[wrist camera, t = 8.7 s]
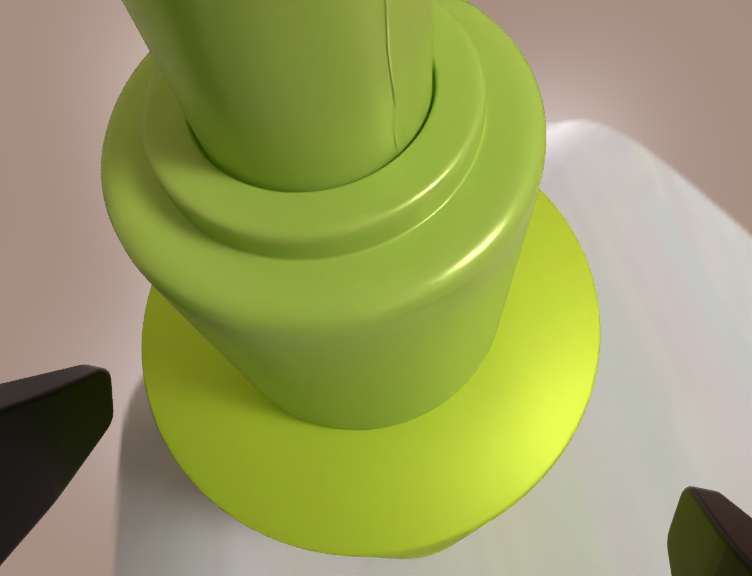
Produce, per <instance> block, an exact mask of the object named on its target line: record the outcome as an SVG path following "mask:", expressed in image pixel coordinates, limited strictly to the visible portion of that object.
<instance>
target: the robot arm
mask: <svg viewBox="0 0 752 576" xmlns="http://www.w3.org/2000/svg"><path fill="white" fill-rule="evenodd" d="M112 418H113V399H112V385H111V376H110V374H109V372H108V371H107V370H106V369H104V368H100V367H95V366H90V365H79V366H74V367H70V368H66V369H62V370H57V371H53V372H49V373H45V374H40V375H36V376H32V377H28V378H23V379H19V380H15V381H11V382H7V383H2V384H0V565H1V564H2V563H3V562H4V561H5V560H6V559H7V557H8V556H9V555H10V554H11V553H12V552H13V550H14V549H15V548H16V547H17V546H18V545H19V543H20V542H21V541H22V540H23V539H24V538H25V536H26V535H27V534H28V533H29V532H30V531H31V530H32V528H33V527H34V526H35V525H36V524H37V523H38V522H39V520H40V519H41V518H42V517H43V516H44V515H45V513H46V512H47V511H48V510H49V508H50V507H51V506H52V505H53V504H54V502H55V501H56V500H57V499H58V497H59V496H60V495H61V493H62V492H63V491H64V489H65V488H66V487H67V485H68V484H69V482H70V481H71V480H72V478H73V477H74V475H75V474H76V473H77V471H78V470H79V468H80V467H81V466H82V464H83V463H84V461H85V460H86V459H87V457H88V456H89V454H90V453H91V452H92V450H93V449H94V447H95V446H96V444H97V443H98V442H99V440H100V439H101V438H102V436H103V435H104V433H105V432H106V430H107V429H108V427H109V426H110V424H111V421H112ZM667 548H668V555H669V562H670V568H671V575H672V576H752V518H751V517H750V516H749V515H747V514H746V513H745V512H744V511H742V510H741V509H740V508H739V507H737V506H736V505H735V504H733V503H732V502H731V501H730V500H728V499H727V498H726V497H725V496H723V495H722V494H721V493H719V492H717V491H713V490H708V489H703V488H698V487H693V486H689V487H687V488H685V489H684V491H683V492H682V494H681V496H680V499H679V502H678V505H677V508H676V511H675V514H674V517H673V520H672V523H671V526H670V529H669V533H668V540H667Z"/></svg>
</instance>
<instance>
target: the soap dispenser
mask: <svg viewBox="0 0 752 576" xmlns="http://www.w3.org/2000/svg"><path fill="white" fill-rule="evenodd" d="M122 1H123V3H124V5H125V6H126V9H127V11H128V12H129V14H130V16H131V18H132V20H133V21H134V23H135V25H136V27H137V29H138V31H139V32H140V34H141V36H142V38H143V40H144V41H145V43H146V45H147V47H148V49H149V51H150V52H149V53H148V54H147V56H146V57H145V58H144V59H143V60H142V61H141V63H140V64H139V65H138V67H137V68H136V69H135V71H134V72H133V74H132V75H131V77H130V78H129V80H128V81H127V83H126V85H125V86H124V88H123V90H122V92H121V94H120V96H119V98H118V100H117V102H116V104H115V107H114V109H113V112H112V115H111V117H110V120H109V123H108V127H107V130H106V134H105V138H104V143H103V150H102V159H101V180H102V190H103V196H104V201H105V205H106V209H107V212H108V215H109V218H110V221H111V223H112V225H113V228H114V230H115V232H116V234H117V236H118V238H119V240H120V242H121V244H122V245H123V247H124V249H125V251H126V252H127V254H128V256H129V257H130V259H131V260H132V261H133V263H134V264H135V266H136V267H137V268H138V269H139V271H140V272H141V273H142V274H143V275H144V276H145V277H146V279H147V280H148V281H149V282H150V283H151V284H152V286H151V290H150V293H149V296H148V301H147V305H146V310H145V316H144V322H143V332H142V366H143V375H144V382H145V388H146V392H147V396H148V400H149V404H150V407H151V410H152V413H153V416H154V419H155V422H156V424H157V426H158V429H159V431H160V433H161V435H162V437H163V439H164V441H165V443H166V445H167V447H168V449H169V450H170V452H171V454H172V455H173V457H174V458H175V460H176V461H177V463H178V464H179V466H180V467H181V468H182V470H183V471H184V472H185V474H186V475H187V476H188V477H189V479H190V480H191V481H192V482H193V483H194V484H195V485H196V486H197V487H198V488H199V489H200V490H201V491H202V492H203V493H204V494H205V495H206V496H207V497H208V498H209V499H210V500H211V501H212V502H213V503H215V504H216V505H217V506H218V507H220V508H221V509H222V510H223V511H225V512H226V513H228V514H229V515H230V516H232V517H233V518H235V519H236V520H238V521H239V522H241V523H243V524H244V525H246V526H248V527H250V528H251V529H253V530H255V531H257V532H259V533H261V534H263V535H265V536H268V537H270V538H272V539H275V540H277V541H280V542H283V543H286V544H288V545H292V546H295V547H298V548H302V549H306V550H310V551H314V552H320V553H326V554H333V555H341V556H357V557H377V558H398V559H412V558H420V557H425V556H429V555H432V554H435V553H438V552H440V551H442V550H444V549H446V548H448V547H450V546H452V545H453V544H455V543H456V542H458V541H459V540H461V539H463V538H464V537H466V536H467V535H469V534H471V533H472V532H474V531H475V530H477V529H478V528H480V527H482V526H483V525H485V524H486V523H488V522H490V521H491V520H493V519H494V518H496V517H497V516H499V515H500V514H502V513H503V512H505V511H506V510H507V509H509V508H510V507H511V506H513V505H514V504H515V503H516V502H518V501H519V500H520V499H521V498H523V497H524V496H525V495H526V494H527V493H528V492H529V491H530V490H531V489H532V488H533V487H534V486H535V485H536V484H537V483H538V482H539V481H540V480H541V479H542V478H543V477H544V476H545V475H546V474H547V472H548V471H549V470H550V469H551V468H552V466H553V465H554V464H555V463H556V461H557V460H558V459H559V457H560V456H561V454H562V453H563V451H564V450H565V448H566V447H567V445H568V444H569V442H570V440H571V439H572V437H573V435H574V433H575V431H576V429H577V428H578V426H579V423H580V421H581V419H582V417H583V415H584V412H585V410H586V407H587V405H588V402H589V399H590V396H591V393H592V389H593V386H594V382H595V377H596V373H597V367H598V361H599V352H600V314H599V305H598V299H597V293H596V289H595V284H594V281H593V277H592V274H591V271H590V268H589V265H588V262H587V260H586V257H585V255H584V252H583V250H582V248H581V246H580V244H579V242H578V240H577V238H576V236H575V234H574V233H573V231H572V229H571V228H570V226H569V225H568V223H567V221H566V220H565V218H564V217H563V216H562V214H561V213H560V212H559V210H558V209H557V208H556V207H555V205H554V204H553V203H552V202H551V201H550V199H549V198H548V197H547V196H546V195H545V194H544V193H543V192H542V191H541V190H540V189H539V187H540V182H541V178H542V174H543V169H544V163H545V155H546V120H545V111H544V106H543V101H542V97H541V93H540V90H539V87H538V84H537V81H536V79H535V76H534V74H533V72H532V70H531V68H530V66H529V64H528V62H527V60H526V59H525V57H524V56H523V54H522V53H521V51H520V50H519V48H518V47H517V45H516V44H515V43H514V42H513V41H512V39H511V38H510V37H509V36H508V35H507V34H506V32H504V31H503V29H501V27H499V26H498V24H496V23H495V22H494V21H493V20H492V19H491V18H490V17H489V16H487V15H486V14H485V13H484V12H482V11H481V10H480V9H478V8H477V7H475V6H474V5H473V4H471V3H470V2H468V1H466V0H122Z"/></svg>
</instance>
